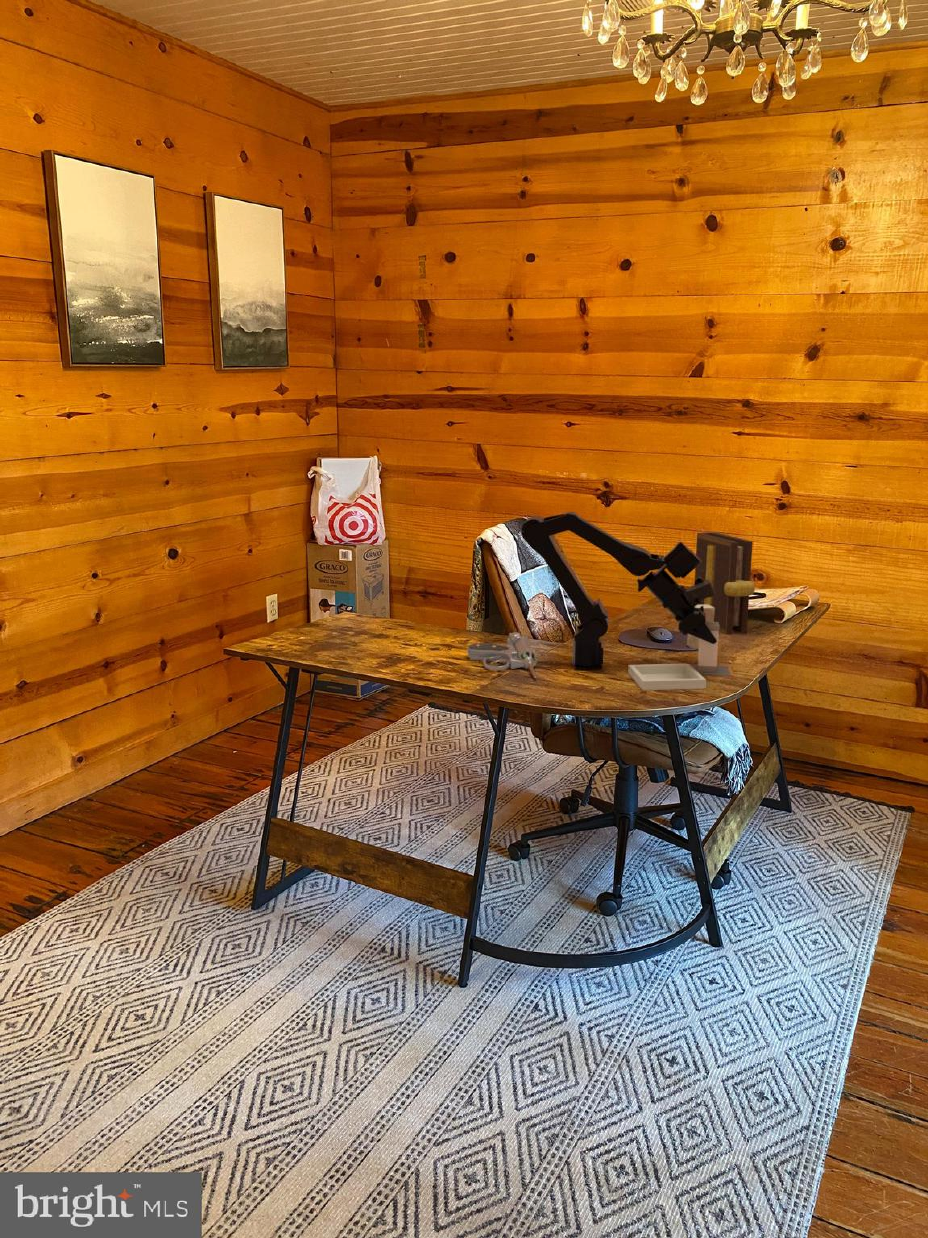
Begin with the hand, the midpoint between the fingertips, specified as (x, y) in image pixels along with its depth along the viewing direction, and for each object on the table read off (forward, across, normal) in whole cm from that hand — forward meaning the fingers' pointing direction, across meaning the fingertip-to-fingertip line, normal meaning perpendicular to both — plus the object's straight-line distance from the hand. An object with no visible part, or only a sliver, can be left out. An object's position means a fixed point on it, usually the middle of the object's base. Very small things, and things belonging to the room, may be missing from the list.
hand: (714, 640), depth 222 cm
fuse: (+4, 0, +6) cm, 7 cm away
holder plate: (+4, 0, +6) cm, 8 cm away
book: (+9, +46, +2) cm, 47 cm away
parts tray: (-2, -11, +13) cm, 17 cm away
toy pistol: (-29, -3, +40) cm, 50 cm away
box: (+4, +22, +7) cm, 23 cm away
